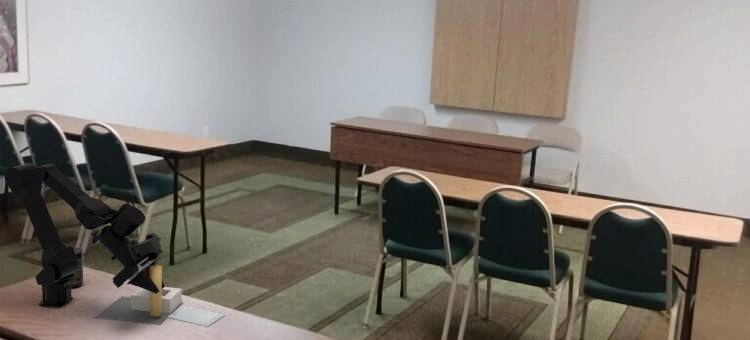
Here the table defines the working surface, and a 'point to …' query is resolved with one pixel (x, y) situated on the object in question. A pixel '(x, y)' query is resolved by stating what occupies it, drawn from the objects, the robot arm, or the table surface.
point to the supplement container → (78, 270)
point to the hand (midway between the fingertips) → (160, 290)
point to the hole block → (169, 299)
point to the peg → (155, 298)
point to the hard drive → (196, 316)
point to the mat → (131, 313)
